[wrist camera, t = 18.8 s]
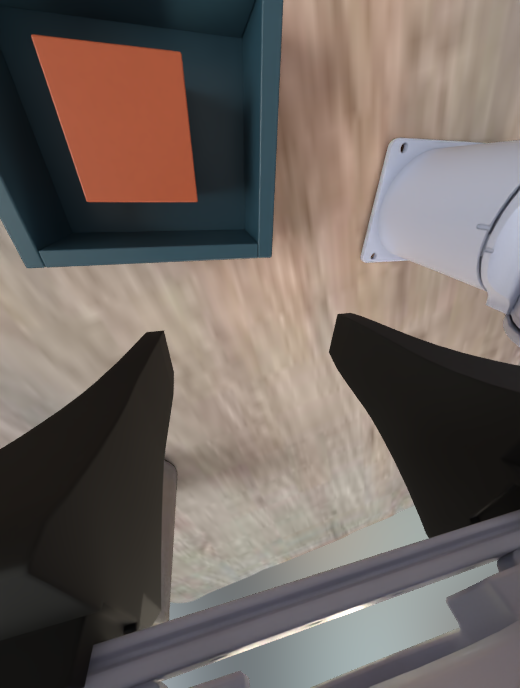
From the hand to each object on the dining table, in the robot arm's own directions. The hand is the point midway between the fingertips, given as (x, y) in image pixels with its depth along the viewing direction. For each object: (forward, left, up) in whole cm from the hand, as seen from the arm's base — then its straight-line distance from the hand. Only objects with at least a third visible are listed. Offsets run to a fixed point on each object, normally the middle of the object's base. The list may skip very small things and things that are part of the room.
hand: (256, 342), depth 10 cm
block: (+4, -7, -10) cm, 13 cm away
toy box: (+4, -7, -10) cm, 13 cm away
